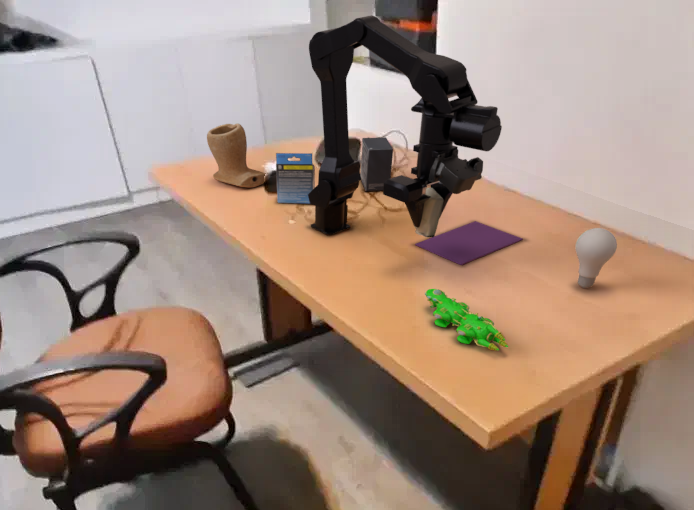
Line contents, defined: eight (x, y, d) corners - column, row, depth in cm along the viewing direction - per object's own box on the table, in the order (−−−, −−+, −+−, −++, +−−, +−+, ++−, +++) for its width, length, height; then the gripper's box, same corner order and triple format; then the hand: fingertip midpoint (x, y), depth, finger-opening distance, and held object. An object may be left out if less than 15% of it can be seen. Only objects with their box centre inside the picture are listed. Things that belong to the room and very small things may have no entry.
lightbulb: (571, 276, 113) (585, 219, 107) (608, 285, 110) (625, 226, 104) (560, 290, 110) (575, 231, 104) (598, 299, 106) (616, 240, 100)
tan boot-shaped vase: (202, 182, 169) (196, 125, 160) (236, 171, 175) (232, 116, 166) (237, 195, 158) (233, 136, 150) (272, 183, 164) (270, 125, 156)
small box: (391, 190, 155) (394, 148, 149) (365, 192, 155) (367, 149, 149) (384, 176, 163) (387, 135, 157) (359, 177, 164) (361, 137, 158)
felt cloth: (461, 265, 120) (461, 264, 119) (415, 245, 128) (415, 243, 128) (522, 239, 127) (522, 238, 127) (475, 222, 136) (475, 221, 136)
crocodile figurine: (441, 300, 109) (444, 278, 107) (518, 351, 95) (524, 327, 93) (410, 309, 107) (412, 287, 105) (484, 363, 93) (488, 339, 91)
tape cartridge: (315, 198, 153) (315, 148, 147) (313, 204, 150) (313, 153, 143) (279, 197, 156) (278, 148, 149) (276, 203, 152) (275, 153, 146)
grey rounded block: (447, 232, 119) (452, 191, 114) (431, 241, 116) (436, 200, 112) (422, 224, 123) (426, 184, 118) (405, 232, 120) (409, 192, 115)
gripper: (432, 162, 100) (422, 251, 109) (510, 139, 108) (494, 223, 116) (384, 147, 108) (378, 231, 117) (459, 126, 116) (448, 206, 124)
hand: (426, 223), depth 118 cm, fingers closed on grey rounded block, 5 cm apart
